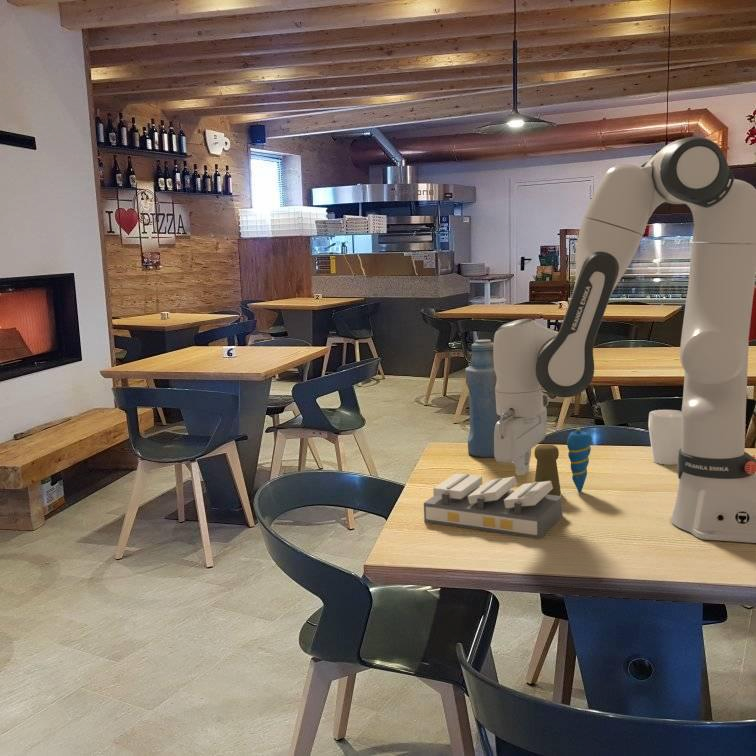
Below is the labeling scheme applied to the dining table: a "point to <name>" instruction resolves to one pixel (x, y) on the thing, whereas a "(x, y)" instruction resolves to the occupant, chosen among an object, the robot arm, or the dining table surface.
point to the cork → (547, 466)
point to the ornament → (579, 455)
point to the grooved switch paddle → (458, 485)
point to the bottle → (482, 399)
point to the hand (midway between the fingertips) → (522, 473)
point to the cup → (665, 435)
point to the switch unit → (495, 514)
